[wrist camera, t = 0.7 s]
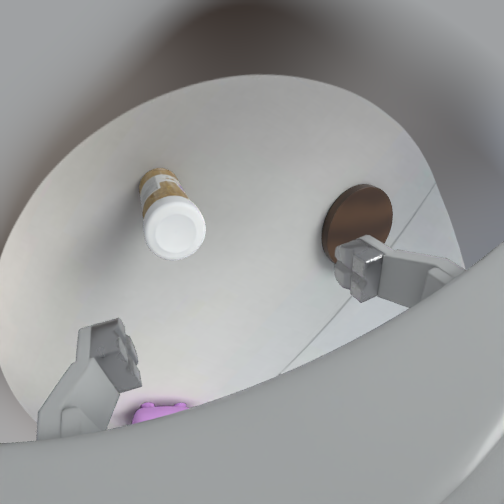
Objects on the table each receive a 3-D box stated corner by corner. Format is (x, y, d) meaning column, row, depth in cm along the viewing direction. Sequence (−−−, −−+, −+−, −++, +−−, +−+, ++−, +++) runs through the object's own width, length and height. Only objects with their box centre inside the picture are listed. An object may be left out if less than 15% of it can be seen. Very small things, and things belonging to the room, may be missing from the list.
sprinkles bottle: (186, 184, 33) (220, 229, 22) (159, 214, 33) (178, 273, 22) (157, 158, 30) (174, 189, 19) (129, 189, 30) (131, 239, 19)
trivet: (321, 193, 40) (327, 196, 39) (389, 177, 44) (395, 180, 43) (321, 275, 47) (326, 280, 46) (382, 250, 51) (388, 254, 50)
